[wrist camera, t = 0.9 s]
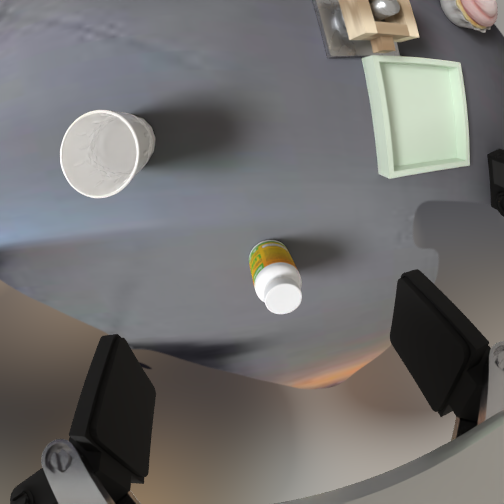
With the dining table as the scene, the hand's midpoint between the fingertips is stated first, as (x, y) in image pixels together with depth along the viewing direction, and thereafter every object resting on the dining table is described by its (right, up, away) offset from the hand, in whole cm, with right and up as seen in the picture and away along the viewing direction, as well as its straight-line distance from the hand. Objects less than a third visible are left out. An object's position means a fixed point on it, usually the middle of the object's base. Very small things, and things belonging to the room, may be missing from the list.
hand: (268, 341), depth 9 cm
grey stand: (+12, +31, +17) cm, 38 cm away
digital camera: (+43, +16, +29) cm, 54 cm away
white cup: (-15, +16, +22) cm, 31 cm away
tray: (+22, +22, +23) cm, 39 cm away
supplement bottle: (+2, +2, +30) cm, 30 cm away
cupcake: (+30, +41, +15) cm, 53 cm away
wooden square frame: (+13, +30, +14) cm, 35 cm away
